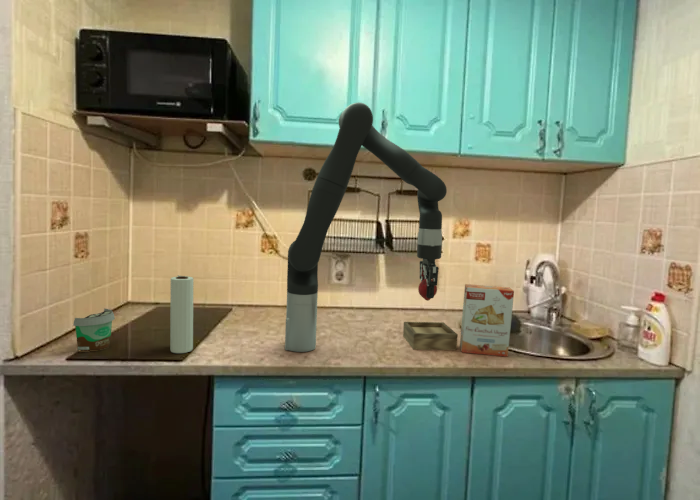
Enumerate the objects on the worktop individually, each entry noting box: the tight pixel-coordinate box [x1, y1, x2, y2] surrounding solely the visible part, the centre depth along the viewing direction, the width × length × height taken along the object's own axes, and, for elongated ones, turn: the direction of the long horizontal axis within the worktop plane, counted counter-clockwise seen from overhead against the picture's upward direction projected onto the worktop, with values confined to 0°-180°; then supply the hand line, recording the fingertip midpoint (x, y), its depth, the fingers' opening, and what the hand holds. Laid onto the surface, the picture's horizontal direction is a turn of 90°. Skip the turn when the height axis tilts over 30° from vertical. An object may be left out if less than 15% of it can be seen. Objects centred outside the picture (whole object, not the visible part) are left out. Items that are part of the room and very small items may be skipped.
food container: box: [72, 308, 116, 351], centre depth 123 cm, size 12×6×10 cm, turn 171°
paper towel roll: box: [169, 275, 194, 354], centre depth 124 cm, size 7×6×21 cm
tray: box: [402, 321, 458, 351], centre depth 142 cm, size 14×14×5 cm
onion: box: [417, 279, 438, 301], centre depth 137 cm, size 6×6×8 cm
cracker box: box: [459, 283, 515, 357], centre depth 134 cm, size 14×6×21 cm, turn 82°
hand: (427, 295), depth 137 cm, fingers closed on onion, 5 cm apart
